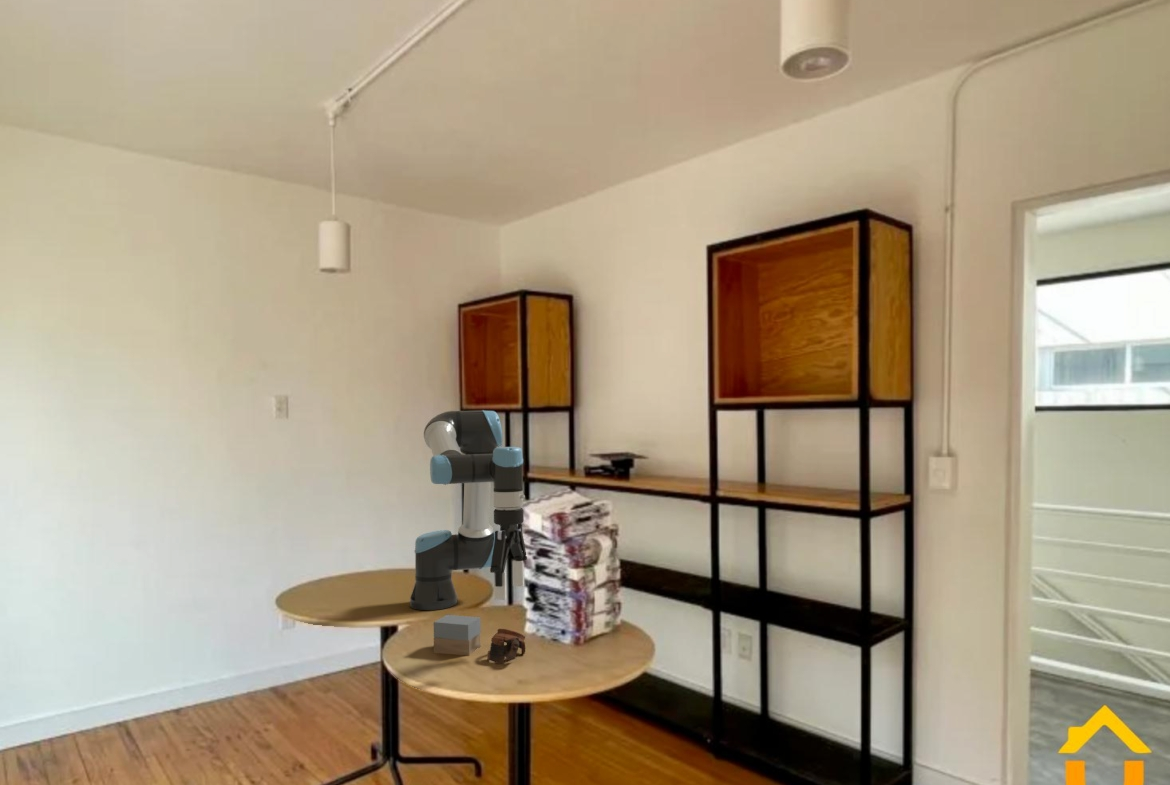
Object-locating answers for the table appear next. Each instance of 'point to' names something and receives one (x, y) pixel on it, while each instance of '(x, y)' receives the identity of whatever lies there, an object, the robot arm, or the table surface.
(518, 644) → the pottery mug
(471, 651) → the walnut block
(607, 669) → the table surface
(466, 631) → the blue-grey block
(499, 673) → the table surface
